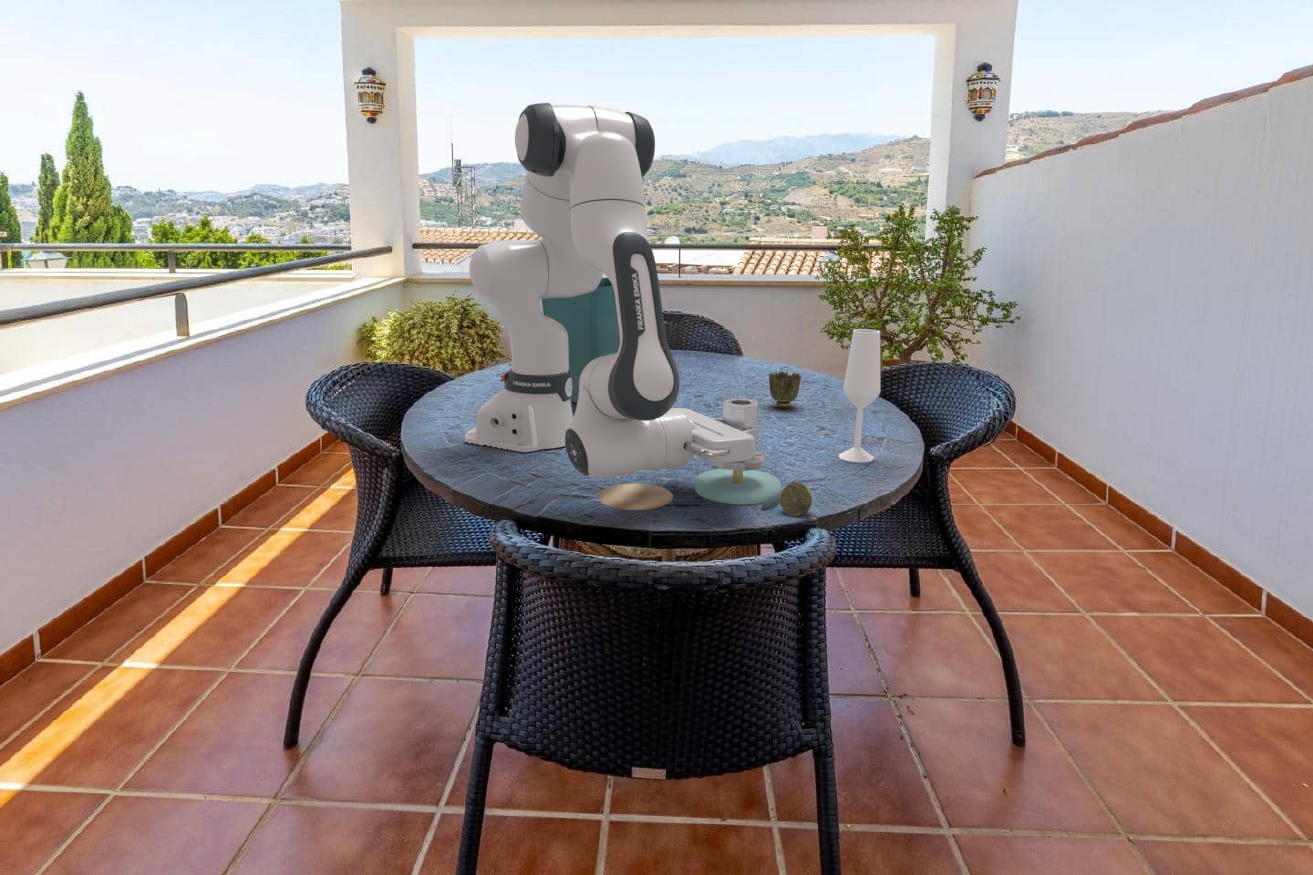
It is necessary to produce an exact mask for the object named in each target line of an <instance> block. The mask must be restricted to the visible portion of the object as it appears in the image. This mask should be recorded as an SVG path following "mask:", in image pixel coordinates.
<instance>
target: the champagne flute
mask: <svg viewBox="0 0 1313 875" xmlns="http://www.w3.org/2000/svg"><path fill="white" fill-rule="evenodd" d="M852 331H853V332H852V337H851V342H850V348H849V354H848V359H847V366H846V370H845V378H844V382H843V387H842V390H843V393H844V394H845V396H846V398H847V400H849V402H850V403H851V404H852V405H853V406H855V407H856V418H855V431H854V441H853V444H854V445H853V447H852V448H849V449H847V450H846V451H845V450H844V451H843V452H841V453H839V454H838V455H839V456H838V458H839V459H841V460H843V461H847V462H851V463H869V462H873V461H874V460H875V456H873V455H872V454H871V453H869V452H867V451H866V450H864V449H863V448H862V447H861V441H862V432H863V419H864V408H866V407H869V405H871V404H872V403H873V402H874V401H875V400H876V399H877V398H878V397H879V396H880V394H881V331H880V330H877V329H868V328H857V329H853V330H852ZM873 459H874V460H873ZM872 460H873V461H872Z"/></svg>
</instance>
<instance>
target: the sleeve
mask: <svg viewBox="0 0 1313 875" xmlns="http://www.w3.org/2000/svg"><path fill="white" fill-rule="evenodd" d="M722 404H723V405H722V406H723V407H722V408H723V409H722V410H723V411H722V419H723V423H724V424H726V425H728V426H731V427H733V428H736V429H738V430H740V431H745V428H751V427H752V428H755V429H758V419H759V418H758V414H759V402H758V401H757V400H753V399H749V398H737V397H736V398H730V399H725V400H724V402H723V403H722ZM710 463H711V464H712V465H714V466H715V467H718V468H719V469H727V470H738V471H748V470H759V469H763V467H764V465H765V463H766V453H765V454H764V453H762V452H760V451H758V450H757V440H756V441H755V445H754V456H753V457H752V458H751V459H750V460H746V461H738V462H728V463H712V462H710Z"/></svg>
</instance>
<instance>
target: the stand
mask: <svg viewBox="0 0 1313 875" xmlns="http://www.w3.org/2000/svg"><path fill="white" fill-rule="evenodd" d="M673 499H674V495H673V493H672V492H671V491H670V490H668V489H666V488H664V487H662V486H658V485H655V484H648V483H622V484H621V483H620V484H616V485H612V486H609V487H605V488H603V489H601V491H599V492H598V493H597V500H598V501H599V503H601V504H603V505H605V506H608V507H611V508H615V509H620V510H621V509H622V510H629V511H630V510H631V511H632V510H633V511H640V510H641V511H642V510H651V509H656V508H660V507H663V506H666V505H668V504H669V503H671V502H672V501H673Z"/></svg>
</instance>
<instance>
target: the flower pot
mask: <svg viewBox="0 0 1313 875" xmlns="http://www.w3.org/2000/svg"><path fill="white" fill-rule="evenodd" d="M541 304H542V305H541V306H542V313H543V315H546V316H548V317H550V318H552V319H554V320H556V321H558V322H559V323H561V324H562V325H563V326H564V327H565V329H566V331H567V333H568V340H569V369H570V370H571V378H572V397H571V403H575V404H577V402H578V395H579V391H578V381H579V377H580V374H581V372H582V370H583V368H584V367H585V366H586V364H588V363H589V362H590V361H591V360H593V359H595V358H597V357H601V356H605V355H609V354H614V353H615V354H616V353H617V352H618V350H619V346H620V333H619V325H618V316H617V308H616V300H615V293H614V289H613V286H612V283H611V281H610V280H609V278H608V277H602V279H601V282H600V284H599V285H598V287H597V288H596V290H594V291H593V292H590V293H586V294H583V295H579V296H575V297H568V298H546V299H541Z"/></svg>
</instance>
